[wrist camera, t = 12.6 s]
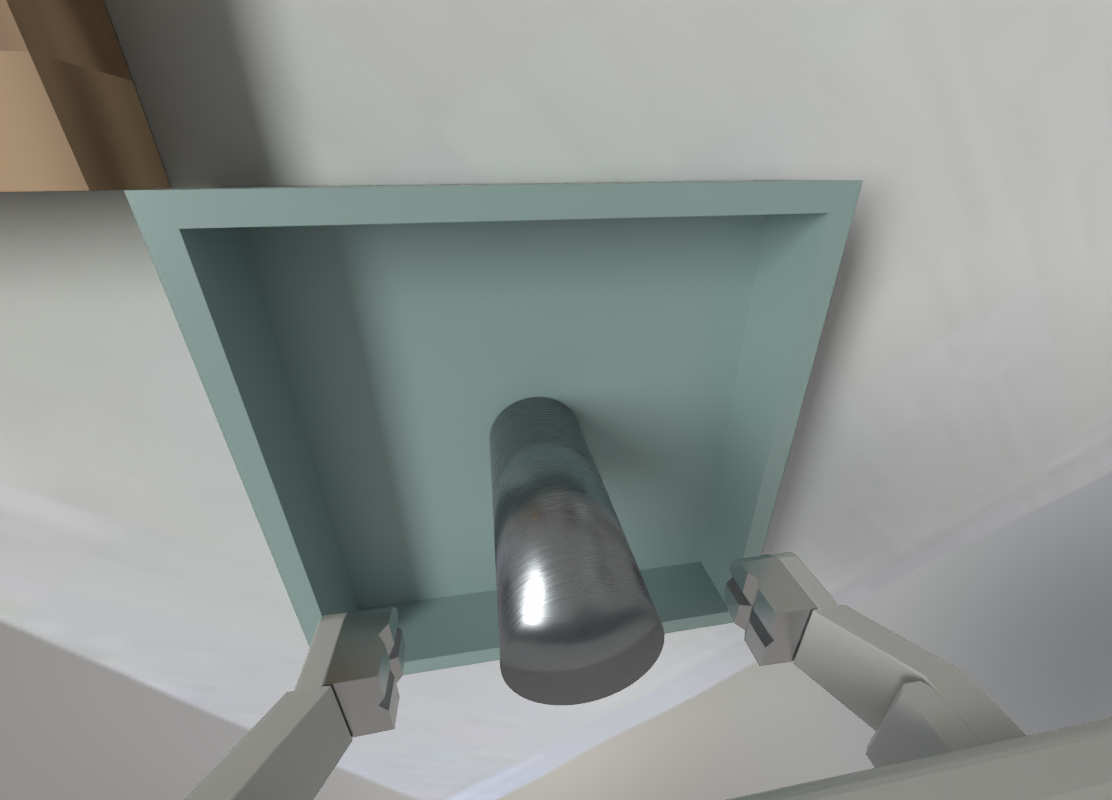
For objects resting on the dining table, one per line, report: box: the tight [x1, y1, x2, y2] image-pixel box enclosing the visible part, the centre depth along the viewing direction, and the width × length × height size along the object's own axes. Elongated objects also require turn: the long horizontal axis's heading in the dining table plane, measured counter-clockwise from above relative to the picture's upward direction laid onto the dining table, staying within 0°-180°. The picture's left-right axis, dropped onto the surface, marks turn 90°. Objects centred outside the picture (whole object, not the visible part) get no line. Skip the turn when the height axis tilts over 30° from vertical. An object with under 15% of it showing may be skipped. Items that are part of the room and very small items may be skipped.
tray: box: [124, 180, 863, 675], centre depth 16 cm, size 18×18×4 cm
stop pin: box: [490, 397, 664, 705], centre depth 13 cm, size 4×4×9 cm
